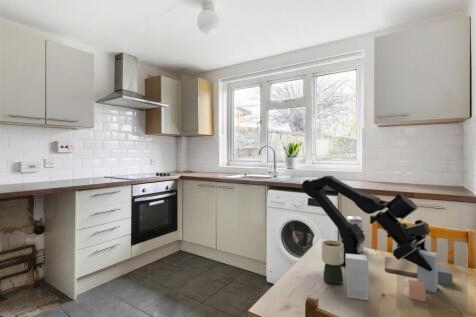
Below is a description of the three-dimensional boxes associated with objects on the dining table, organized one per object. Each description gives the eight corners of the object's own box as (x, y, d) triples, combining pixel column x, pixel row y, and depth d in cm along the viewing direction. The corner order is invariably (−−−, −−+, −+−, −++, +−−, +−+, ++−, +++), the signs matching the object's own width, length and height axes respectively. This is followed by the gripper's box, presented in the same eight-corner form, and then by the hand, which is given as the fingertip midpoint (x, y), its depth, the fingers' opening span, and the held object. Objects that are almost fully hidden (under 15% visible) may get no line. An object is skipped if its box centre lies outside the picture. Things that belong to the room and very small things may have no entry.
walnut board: (384, 270, 94) (384, 267, 94) (385, 259, 104) (385, 256, 104) (425, 278, 88) (425, 274, 88) (421, 265, 98) (421, 262, 98)
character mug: (353, 287, 82) (352, 247, 82) (333, 290, 81) (332, 249, 81) (332, 273, 93) (332, 237, 93) (315, 275, 91) (314, 239, 91)
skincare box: (367, 293, 78) (366, 255, 78) (369, 301, 74) (368, 260, 74) (345, 290, 80) (345, 253, 80) (346, 297, 76) (346, 258, 76)
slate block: (417, 287, 82) (417, 253, 82) (420, 282, 85) (420, 249, 85) (435, 292, 78) (434, 257, 78) (437, 287, 81) (437, 253, 81)
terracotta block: (409, 298, 76) (408, 285, 76) (408, 292, 79) (408, 279, 79) (425, 302, 74) (425, 288, 74) (424, 295, 77) (423, 282, 77)
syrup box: (363, 251, 113) (363, 219, 113) (349, 251, 114) (349, 218, 114) (360, 247, 118) (359, 216, 118) (346, 246, 119) (346, 215, 119)
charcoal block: (437, 283, 84) (436, 271, 84) (435, 278, 88) (434, 266, 88) (452, 286, 82) (452, 273, 82) (450, 280, 86) (449, 269, 86)
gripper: (404, 217, 78) (451, 264, 70) (418, 208, 91) (460, 246, 83) (376, 237, 84) (417, 283, 76) (394, 226, 96) (430, 264, 88)
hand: (432, 268), depth 80 cm, fingers closed on slate block, 4 cm apart
